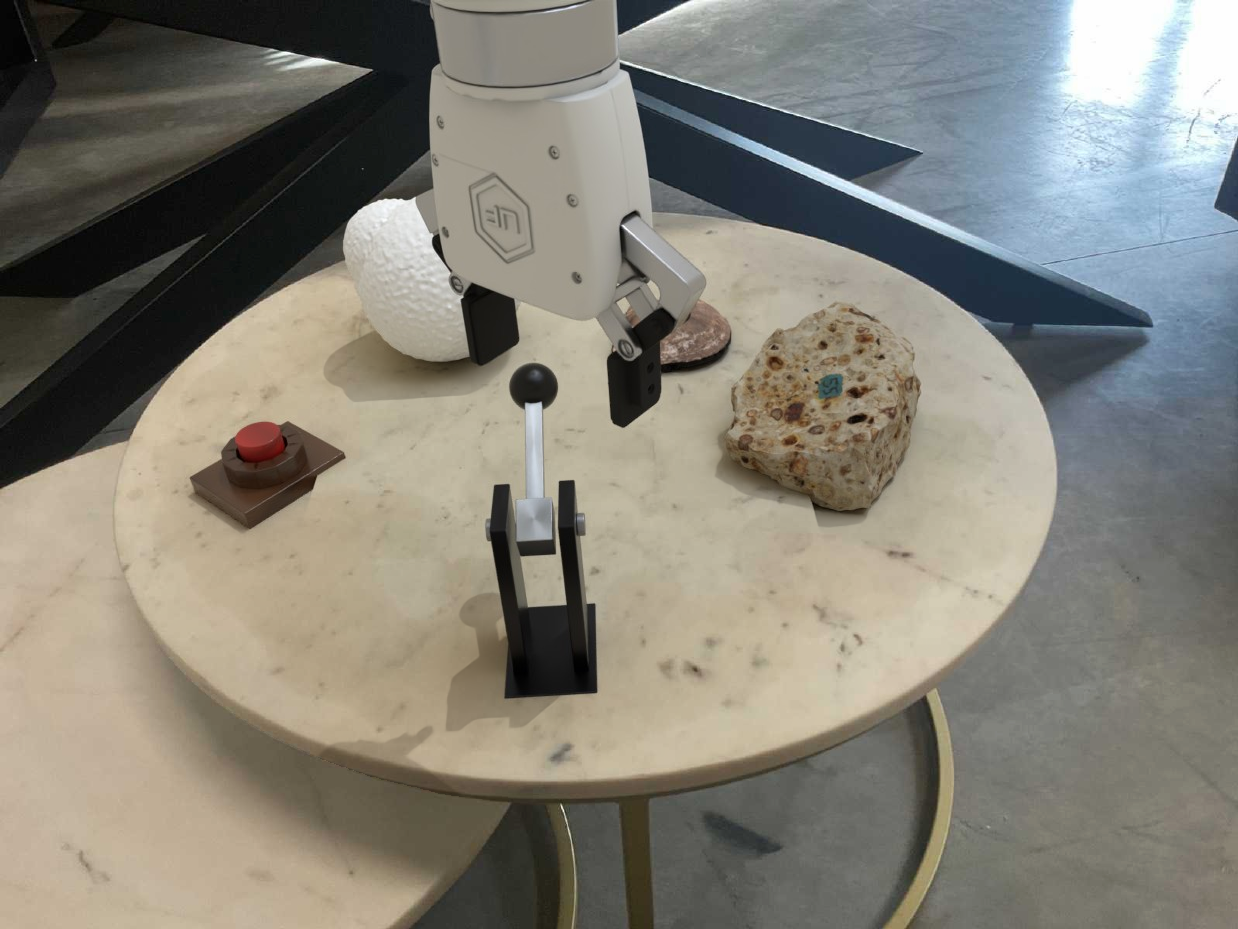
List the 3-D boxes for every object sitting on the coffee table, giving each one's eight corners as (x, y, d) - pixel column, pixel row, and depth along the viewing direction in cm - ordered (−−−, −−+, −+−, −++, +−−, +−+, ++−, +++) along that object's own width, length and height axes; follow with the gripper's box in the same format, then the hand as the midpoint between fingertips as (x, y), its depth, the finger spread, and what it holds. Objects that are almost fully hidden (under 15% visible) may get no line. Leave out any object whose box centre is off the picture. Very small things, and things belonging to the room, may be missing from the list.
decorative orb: (511, 407, 94) (488, 247, 85) (327, 401, 97) (284, 245, 87) (549, 300, 110) (534, 155, 100) (390, 298, 112) (360, 156, 103)
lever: (512, 380, 69) (506, 354, 67) (559, 378, 69) (555, 351, 67) (513, 560, 63) (506, 539, 61) (564, 556, 63) (560, 536, 61)
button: (257, 469, 84) (251, 452, 83) (232, 454, 86) (226, 436, 84) (293, 447, 86) (288, 430, 85) (268, 433, 88) (262, 416, 87)
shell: (742, 313, 106) (743, 282, 104) (719, 380, 96) (720, 347, 94) (633, 304, 108) (632, 273, 106) (601, 368, 99) (599, 335, 97)
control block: (250, 530, 82) (238, 496, 80) (194, 492, 87) (181, 459, 85) (348, 467, 88) (339, 434, 86) (292, 435, 93) (282, 403, 90)
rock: (899, 535, 79) (879, 436, 74) (725, 525, 86) (694, 434, 80) (943, 373, 93) (929, 278, 87) (790, 376, 100) (767, 289, 94)
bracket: (512, 619, 73) (487, 466, 65) (596, 614, 73) (582, 460, 65) (506, 709, 67) (478, 552, 58) (598, 704, 67) (583, 546, 58)
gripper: (325, 31, 45) (397, 363, 56) (634, 98, 36) (650, 480, 46) (450, -8, 49) (494, 306, 60) (753, 43, 40) (743, 402, 51)
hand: (562, 382), depth 53 cm, fingers open, 9 cm apart
